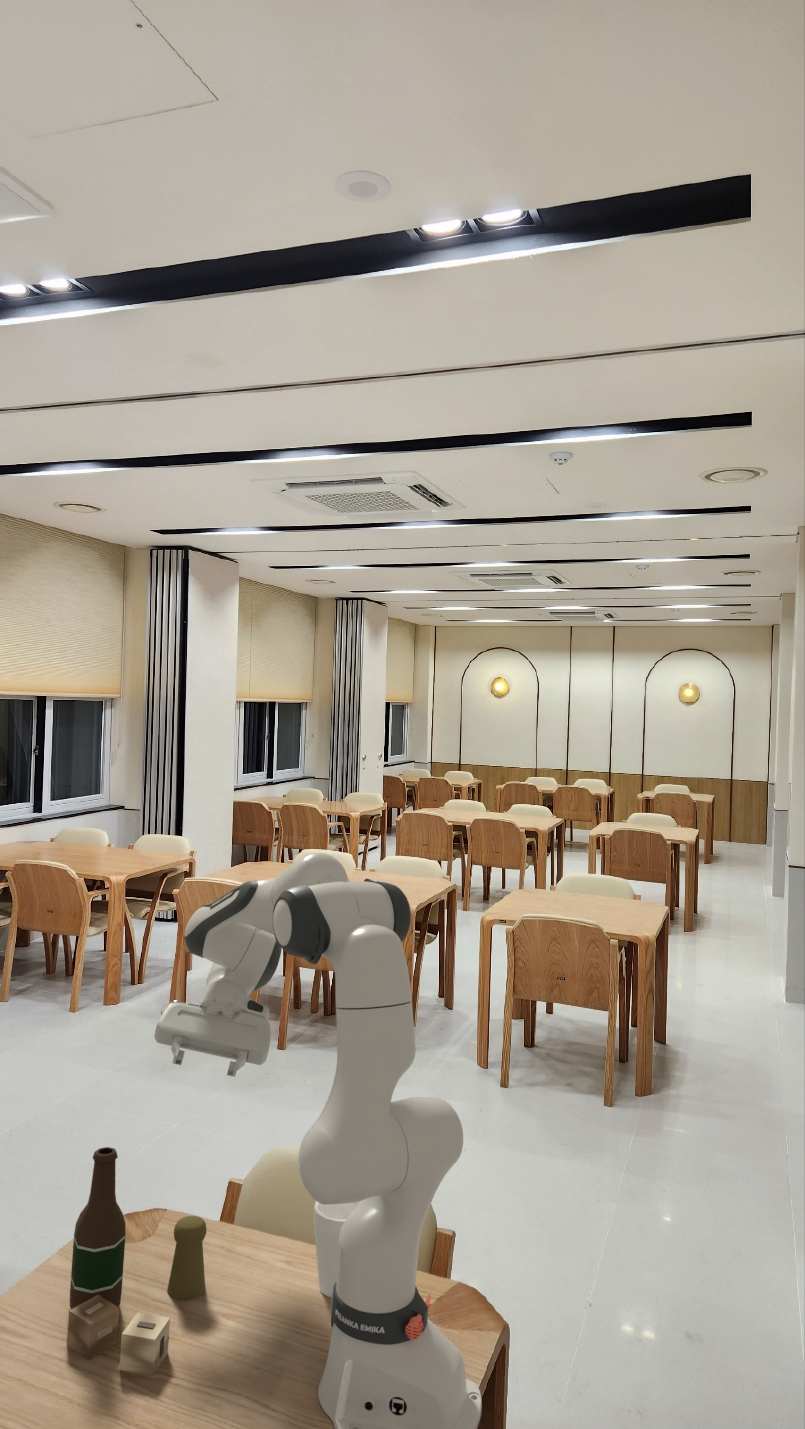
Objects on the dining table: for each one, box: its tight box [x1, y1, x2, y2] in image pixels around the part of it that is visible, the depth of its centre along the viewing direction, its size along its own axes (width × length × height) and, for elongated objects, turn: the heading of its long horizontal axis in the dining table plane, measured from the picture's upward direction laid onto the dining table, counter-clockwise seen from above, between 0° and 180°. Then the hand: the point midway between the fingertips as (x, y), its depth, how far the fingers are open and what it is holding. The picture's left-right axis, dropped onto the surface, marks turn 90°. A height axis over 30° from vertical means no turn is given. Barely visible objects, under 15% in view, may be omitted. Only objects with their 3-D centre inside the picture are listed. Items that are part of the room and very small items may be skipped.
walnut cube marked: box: [66, 1295, 120, 1361], centre depth 132 cm, size 5×5×5 cm
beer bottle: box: [69, 1146, 126, 1310], centre depth 141 cm, size 8×8×24 cm
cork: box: [166, 1215, 208, 1301], centre depth 146 cm, size 6×6×11 cm
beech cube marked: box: [118, 1312, 171, 1377], centre depth 129 cm, size 5×5×5 cm
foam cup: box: [312, 1200, 361, 1298], centre depth 149 cm, size 10×9×13 cm
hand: (204, 1067), depth 154 cm, fingers open, 8 cm apart
